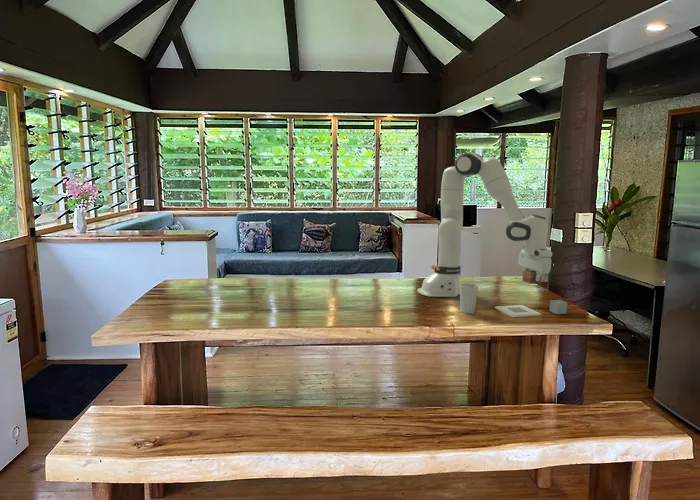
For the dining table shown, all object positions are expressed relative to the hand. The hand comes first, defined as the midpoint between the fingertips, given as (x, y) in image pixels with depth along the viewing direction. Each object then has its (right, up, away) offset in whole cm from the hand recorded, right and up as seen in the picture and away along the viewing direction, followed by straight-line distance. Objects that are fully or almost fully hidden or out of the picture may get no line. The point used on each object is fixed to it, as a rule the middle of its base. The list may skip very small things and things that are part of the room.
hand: (531, 278), depth 226 cm
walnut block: (0, -2, 0) cm, 2 cm away
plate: (-11, -14, -11) cm, 21 cm away
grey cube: (+8, -15, -11) cm, 19 cm away
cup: (-33, -14, -12) cm, 38 cm away
